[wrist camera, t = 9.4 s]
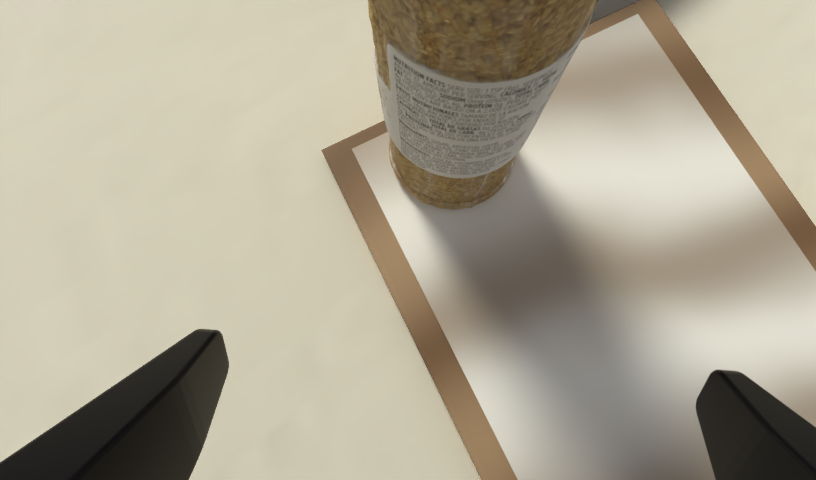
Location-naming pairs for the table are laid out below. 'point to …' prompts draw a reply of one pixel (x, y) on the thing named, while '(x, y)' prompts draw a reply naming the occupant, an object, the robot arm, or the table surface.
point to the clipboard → (602, 269)
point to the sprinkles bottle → (467, 86)
